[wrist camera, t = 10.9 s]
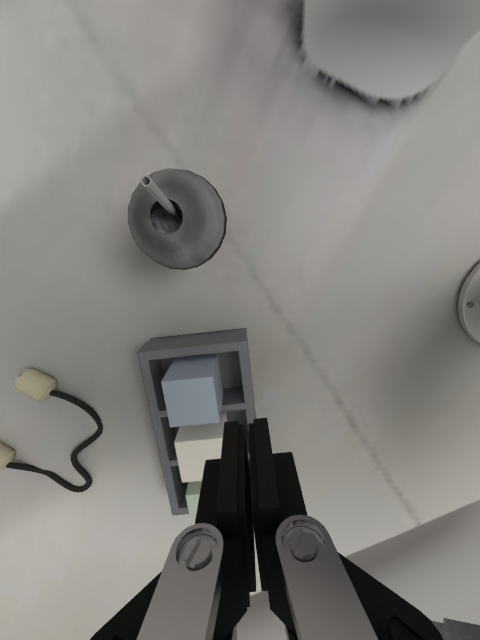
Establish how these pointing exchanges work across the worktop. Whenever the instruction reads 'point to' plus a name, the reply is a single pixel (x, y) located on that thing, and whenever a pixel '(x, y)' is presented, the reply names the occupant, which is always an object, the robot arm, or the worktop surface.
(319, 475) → the worktop surface
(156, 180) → the beverage cup
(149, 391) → the box
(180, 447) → the key ivory
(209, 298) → the worktop surface
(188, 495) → the key sage
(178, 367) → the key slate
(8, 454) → the cable
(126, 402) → the worktop surface
